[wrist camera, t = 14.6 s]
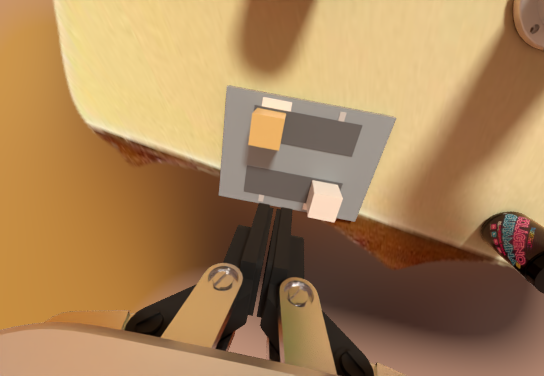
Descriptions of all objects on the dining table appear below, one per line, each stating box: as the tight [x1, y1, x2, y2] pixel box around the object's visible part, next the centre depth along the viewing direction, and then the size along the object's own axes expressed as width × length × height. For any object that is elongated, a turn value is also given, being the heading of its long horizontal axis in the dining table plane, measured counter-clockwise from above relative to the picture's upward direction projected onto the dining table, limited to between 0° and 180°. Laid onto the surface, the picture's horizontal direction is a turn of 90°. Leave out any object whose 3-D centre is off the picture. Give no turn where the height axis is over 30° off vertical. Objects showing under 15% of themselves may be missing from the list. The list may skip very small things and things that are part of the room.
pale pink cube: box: [306, 180, 343, 222], centre depth 35 cm, size 4×4×4 cm
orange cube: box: [248, 108, 286, 151], centre depth 31 cm, size 4×4×4 cm
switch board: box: [219, 86, 396, 222], centre depth 36 cm, size 23×17×1 cm
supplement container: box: [481, 212, 544, 293], centre depth 34 cm, size 7×7×10 cm
